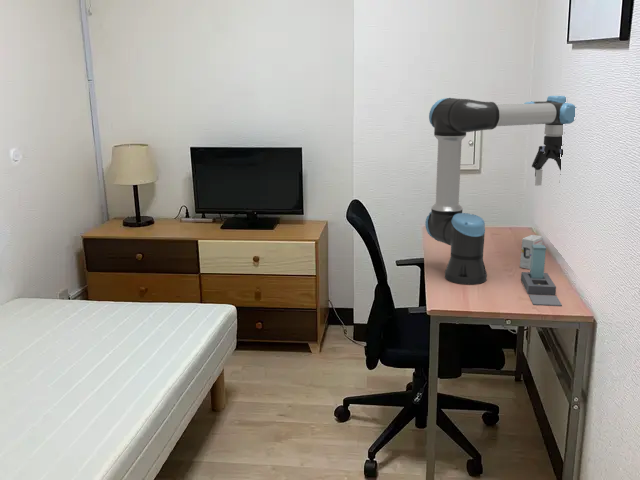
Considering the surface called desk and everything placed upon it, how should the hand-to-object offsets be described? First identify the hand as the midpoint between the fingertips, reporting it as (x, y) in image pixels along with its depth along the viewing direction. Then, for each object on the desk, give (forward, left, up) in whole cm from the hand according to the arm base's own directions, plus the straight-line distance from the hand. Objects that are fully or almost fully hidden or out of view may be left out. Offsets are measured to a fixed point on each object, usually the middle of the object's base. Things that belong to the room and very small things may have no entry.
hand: (549, 188), depth 259 cm
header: (-32, -32, -28) cm, 53 cm away
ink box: (-17, -11, -28) cm, 35 cm away
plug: (-30, -29, -28) cm, 51 cm away
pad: (-39, -44, -28) cm, 66 cm away
